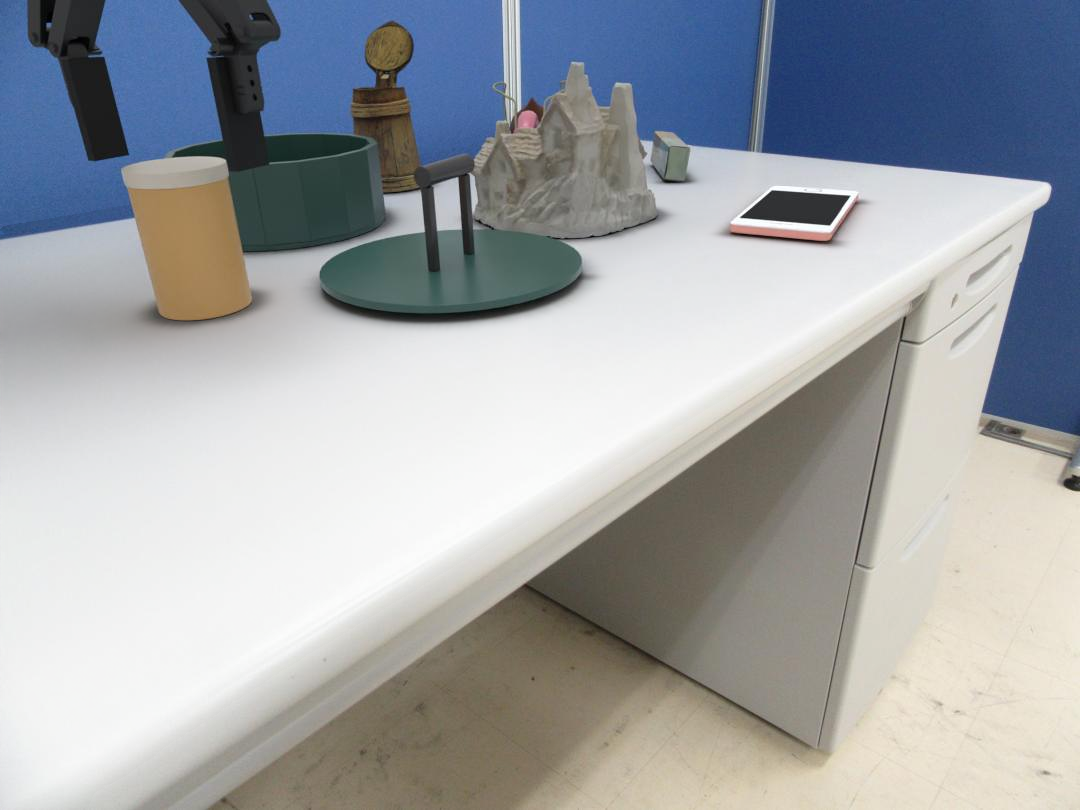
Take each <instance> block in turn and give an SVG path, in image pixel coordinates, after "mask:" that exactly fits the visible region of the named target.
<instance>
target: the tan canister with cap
mask: <svg viewBox="0 0 1080 810" xmlns="http://www.w3.org/2000/svg"><path fill="white" fill-rule="evenodd" d="M120 171H121V176H122V180H123V184H124V186H125V187H126V189H127V193H128V197H129V200H130V205H131V209H132V212H133V217H134V220H135V224H136V229H137V232H138V236H139V239H140V240H139V241H140V243H141V247H142V252H143V255H144V260H145V262H146V267H147V270H148V275H149V278H150V282H151V286H152V290H153V294H154V299H155V302H156V306H157V310H158V313H159V315H160V316H161V317H162V318H165V319H169V320H174V321H202V320H208V319H209V320H211V319H215V318H220V317H224V316H227V315H232V314H234V313H236V312H239V311H241V310H243V309H245V308H246V307H249V305H251V303H252V301H253V297H252V296H253V295H252V291H251V286H250V281H249V276H248V272H247V266H246V261H245V256H244V251H242V246H241V241H240V235H239V230H238V225H237V220H236V215H235V210H234V205H233V200H232V195H231V190H230V185H229V180H228V176H229V172H228V167H227V162H226V160H225V159H223V158H218V157H203V156H197V157H176V158H165V159H164V158H158V159H151V160H144V161H140V162H135V163H131V164H128V165H125V166H123V167H121V170H120Z"/></svg>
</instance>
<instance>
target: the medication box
mask: <svg viewBox="0 0 1080 810" xmlns="http://www.w3.org/2000/svg"><path fill="white" fill-rule="evenodd" d="M690 153H691V147H690V146H688V144H686V142H684V141H683V140H682V139H681V138H680V137H679V136H678V135H676V134H675V132H672V131H663V130H662V131H660V130H655V131H654V132H653V139H652V147H651V153H650V159H649V161H650V163H651V164H652V165H653V167H654V168H655V169H656V171H657V172H658V174H659V175H660V176H661V177H662V179H663V181H664V182H666V181H667V182H675V183H685V181H686V176H687V171H688V164H689V159H690Z"/></svg>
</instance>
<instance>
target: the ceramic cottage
mask: <svg viewBox="0 0 1080 810" xmlns="http://www.w3.org/2000/svg"><path fill="white" fill-rule="evenodd" d="M565 81H566V83H565V86H564V89H565V91H564V93H558V92H556V93H554V94H552V95H553V97H552V98H551V99H549V100H550V102H549V104H548V106H547V108H546V109H547V111H546V112H545V114H544V115H543V117H542V119H541V122H540V123H539V125H538V127H537V128H535V129H534V128H525V127H519V128H518V130H517V132H516V134H511V132H510V131H509V127H510V124H509V122H508V120H507V121H506V120H505V119H504V120H497V121H496V122H495V134H494V137H491V136H490V137H487V138H486V137H485V142H484V143H483V144H482V145H481V149H480V150H479V151H478V153H477V154H476V155H475V157H474V158H473V160H474V163H475V167H474V169H473V171H472V172H471V173H469V174H470V175H471V176H473V177H474V184H475V190H476V196H477V203H476V204H475V208H474V216H473V217H474V218H473V219H474V220H475V221H480V222H481V223H482V224H483V225H487V226H490V228H493V230H506V231H516V232H524V233H531V234H536V235H541V236H545V237H549V238H554V239H557V238H559V239H561V240H564V239H566V238H567V239H577V238H580V239H581V238H583V239H584V238H589V237H591V236H594V237H600V236H605V235H608V234H609V233H615V232H617V231H618V232H620V231H623V230H624V228H631V227H632V228H633V227H635V226H637V225H639V224H644V223H647V222H649V221H651V220H653V219H655V218H657V216H658V214H659V212H658V209H657V204H656V203H657V202H656V197H655V194H654V192H652V189H649V188H648V182H647V170H646V165H645V162H644V160H645V158H646V157H647V155H648V152H647V151H646V150H645V147H644V145H643V144H642V141H641V137H639V135H638V131H637V127H638V125H637V124H638V118H637V113H636V109H635V106H634V105H635V104H634V93H633V85H632V84H631V83H630V82H615V84H614V85H613V87H612V91H611V95H610V104H609V106H599V105H598V103H597V101H596V98H595V97H594V95H593V90H592V89H593V88H592V87H591V86H590V81H589V75H588V74H585V62H577V61H571V63H570V66H569V68H568V72H567V77H566V80H565Z"/></svg>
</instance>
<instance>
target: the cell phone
mask: <svg viewBox="0 0 1080 810" xmlns="http://www.w3.org/2000/svg"><path fill="white" fill-rule="evenodd" d="M859 195H860V192H859V191H858V190H847V189H833V188H817V187H816V188H815V187H803V186H788V185H787V186H786V185H773V186H771V187H770V188H769V189H767V190H766V191H765V192H764V193H762V194H761V195H760V196H759V197H757V199H755V201H753V202H752V203H751V204H750V205H748V206H747V207H746V208H745V209H743V211H741V212H740V213H739V214H738V215H737V216H735V218H733V219H732V220H731V221H730V223H729V224H730V225H729V231H730V232H731V233H736V234H745V235H746V234H747V235H756V236H767V237H775V238H777V237H778V238H788V239H797V240H798V239H799V240H809V241H819V242H821V241H822V242H823V241H824V242H825V241H826V242H827V241H829V240H831V239H832V237H833V236H834V234H835V233H836V231H837V230H838V228H839V227H840V225H841V224H842V223H843V221H844V220H845V218H846V217H847V215H848V213H849V212H850V210H851V209H852V208H853V207H854V206H855V203H856V202H857V201H858V200H859Z"/></svg>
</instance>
